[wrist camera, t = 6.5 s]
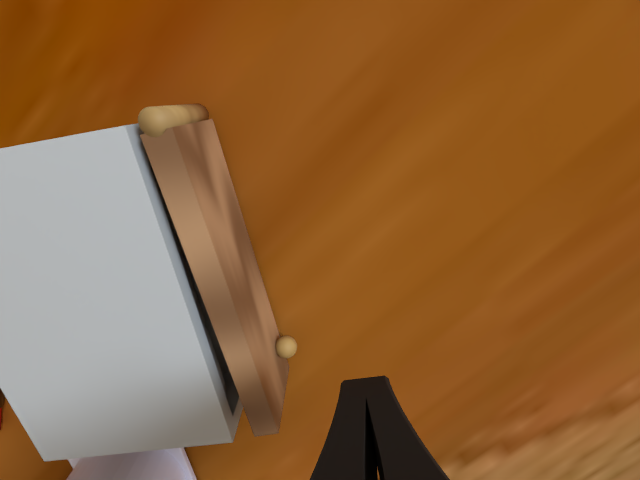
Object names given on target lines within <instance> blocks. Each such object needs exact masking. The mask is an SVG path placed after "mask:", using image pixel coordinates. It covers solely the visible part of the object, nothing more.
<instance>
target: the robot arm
mask: <svg viewBox="0 0 640 480" xmlns="http://www.w3.org/2000/svg"><path fill="white" fill-rule="evenodd" d="M68 461H69V462H70V464H71V466H72V468H73V470H72V472H71V473H70V475H69V476H68V478H67V479H66V480H197V479H196V477H195V474H194V472H193V469H192V467H191V464H190V462H189V460H188V457H187V455H186V452H185V450H184V447H182V448H172V449H163V450H153V451H143V452H133V453H123V454H113V455H103V456H94V457H84V458H74V459H68ZM377 467H378V472H379V476H380V480H450V479H449V478H448V477H447V475H446V474H445V473H444V472H443V470H442V469H441V468H440V466H439V465H438V464H437V462H436V461H435V460H434V458H433V457H432V455H431V454H430V452H429V451H428V450H427V448H426V447H425V445H424V444H423V442H422V441H421V439H420V438H419V436H418V435H417V433H416V432H415V430H414V428H413V427H412V425H411V423H410V422H409V420H408V419H407V417H406V415H405V413H404V412H403V410H402V408H401V406H400V404H399V402H398V400H397V398H396V396H395V394H394V392H393V390H392V387H391V385H390V382H389V379H388V378H387V377H386V376H378V377H369V378H361V379H352V380H344V381H343V382H342V383H341V388H340V394H339V399H338V403H337V407H336V411H335V414H334V418H333V421H332V424H331V427H330V430H329V433H328V436H327V439H326V441H325V444H324V447H323V449H322V452H321V454H320V457H319V459H318V462H317V464H316V466H315V469H314V471H313V473H312V476H311V478H310V480H378V476H377Z"/></svg>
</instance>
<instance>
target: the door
mask: <svg viewBox="0 0 640 480" xmlns="http://www.w3.org/2000/svg"><path fill="white" fill-rule="evenodd" d="M208 119H209V114H208V111H207V109H206V108H205V107H204V106H203V105H201V104H185V105H170V106H156V107H146V108H144V109H143V110H142V111H141V112H140V113H139V116H138V123H139V126H140V128H141V130H142V131H143V132H144V133H145V134H142V135H140V137H141V139H142V142H143V145H144V147H145V150H146V153H147V155H148V158H149V160H150V163H151V166H152V168H153V171H154V174H155V176H156V179H157V181H158V184H159V187H160V189H161V192H162V195H163V197H164V200H165V202H166V205H167V208H168V210H169V213H170V216H171V218H172V221H173V223H174V226H175V229H176V231H177V234H178V237H179V239H180V242H181V244H182V247H183V250H184V252H185V255H186V258H187V260H188V263H189V265H190V268H191V271H192V273H193V276H194V279H195V281H196V284H197V287H198V289H199V292H200V294H201V297H202V300H203V302H204V305H205V308H206V310H207V313H208V315H209V318H210V321H211V323H212V326H213V329H214V331H215V334H216V336H217V339H218V342H219V344H220V347H221V350H222V352H223V355H224V357H225V360H226V363H227V365H228V368H229V371H230V373H231V376H232V378H233V381H234V384H235V386H236V389H237V392H238V394H239V397H240V399H241V402H242V405H243V407H244V410H245V413H246V415H247V418H248V420H249V423H250V426H251V428H252V431H253V434H254V436H262V435H269V434H276V433H279V428H280V422H281V415H282V409H283V403H284V397H285V390H286V384H287V378H288V372H289V364H288V361H287V358H290V357H292V356H293V355H294V354H295V352H296V350H297V343H296V341H295V340H294V338H292V337H291V336H282V337H280V335H279V332H278V329H277V326H276V322H275V319H274V316H273V313H272V310H271V306H270V303H269V300H268V297H267V293H266V290H265V287H264V284H263V281H262V277H261V274H260V271H259V268H258V264H257V261H256V258H255V255H254V252H253V248H252V245H251V242H250V239H249V235H248V232H247V229H246V226H245V223H244V219H243V216H242V213H241V210H240V206H239V203H238V200H237V197H236V194H235V190H234V187H233V184H232V181H231V177H230V174H229V171H228V168H227V164H226V161H225V158H224V155H223V152H222V148H221V145H220V142H219V139H218V135H217V132H216V129H215V126H214V123H213V119H209V120H208Z"/></svg>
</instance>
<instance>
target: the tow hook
mask: <svg viewBox="0 0 640 480" xmlns="http://www.w3.org/2000/svg"><path fill="white" fill-rule="evenodd" d="M3 404H4V393H3V392H2V390H1V388H0V430H1V408H2V406H3Z"/></svg>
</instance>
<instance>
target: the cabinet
mask: <svg viewBox="0 0 640 480" xmlns="http://www.w3.org/2000/svg"><path fill="white" fill-rule="evenodd" d="M142 134H145V133H144V132H143V131H142V130H141V128H140V126H139V123H138V124H132V125H125V126H120V127H114V128H109V129H103V130H98V131H93V132H87V133H82V134H77V135H71V136H66V137H60V138H55V139H50V140H44V141H39V142H33V143H28V144H23V145H17V146H12V147H6V148H1V149H0V388H1V390H2V392H3V393H4V395H5V397H6V398H7V400H8V402H9V403H10V405H11V407H12V408H13V410H14V412H15V413H16V415H17V417H18V418H19V420H20V422H21V423H22V425H23V427H24V429H25V430H26V432H27V434H28V435H29V437H30V439H31V440H32V442H33V444H34V445H35V447H36V449H37V450H38V452H39V454H40V455H41V457H42V459H43V460H44V461H54V460H64V459H74V458H84V457H94V456H103V455H113V454H123V453H133V452H143V451H153V450H163V449H172V448H182V447H192V446H202V445H212V444H222V443H232V442H233V441H234V437H235V434H236V430H237V427H238V423H239V420H240V416H241V413H242V409H243V405H242V402H241V399H240V397H239V394H238V392H237V389H236V386H235V384H234V381H233V378H232V376H231V373H230V371H229V368H228V365H227V363H226V360H225V357H224V355H223V352H222V350H221V347H220V344H219V342H218V339H217V336H216V334H215V331H214V329H213V326H212V323H211V321H210V318H209V315H208V313H207V310H206V308H205V305H204V302H203V300H202V297H201V294H200V292H199V289H198V287H197V284H196V281H195V279H194V276H193V273H192V271H191V268H190V265H189V263H188V260H187V258H186V255H185V252H184V250H183V247H182V244H181V242H180V239H179V237H178V234H177V231H176V229H175V226H174V223H173V221H172V218H171V216H170V213H169V210H168V208H167V205H166V202H165V200H164V197H163V195H162V192H161V189H160V187H159V184H158V181H157V179H156V176H155V174H154V171H153V168H152V166H151V163H150V160H149V158H148V155H147V153H146V150H145V147H144V145H143V142H142V139H141V137H140V135H142Z"/></svg>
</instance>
